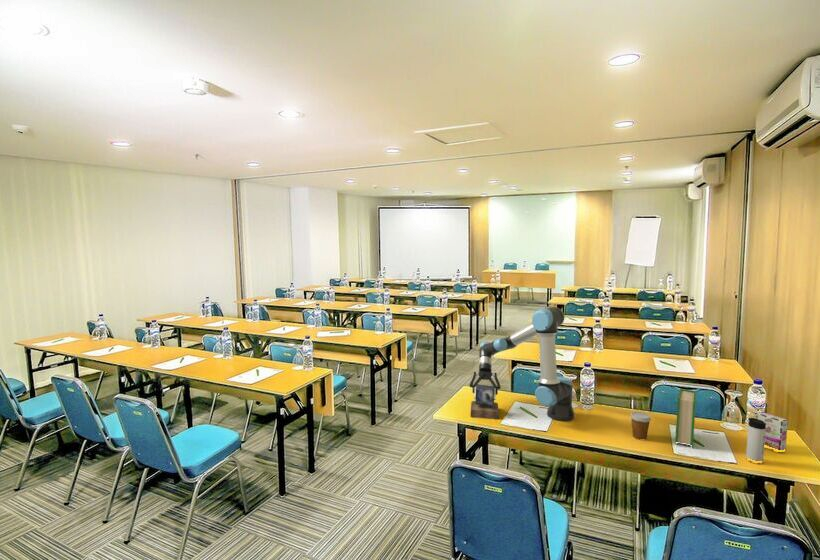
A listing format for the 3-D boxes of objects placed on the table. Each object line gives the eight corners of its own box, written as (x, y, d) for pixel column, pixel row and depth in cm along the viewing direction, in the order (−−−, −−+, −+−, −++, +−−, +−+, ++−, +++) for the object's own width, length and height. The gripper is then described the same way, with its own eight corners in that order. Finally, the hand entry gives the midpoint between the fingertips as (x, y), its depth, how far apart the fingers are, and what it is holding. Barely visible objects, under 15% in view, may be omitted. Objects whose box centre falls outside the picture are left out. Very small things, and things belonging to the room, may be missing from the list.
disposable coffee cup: (651, 442, 217) (652, 419, 216) (630, 439, 220) (631, 417, 219) (648, 434, 226) (649, 412, 225) (628, 432, 229) (629, 410, 228)
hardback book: (692, 448, 211) (695, 401, 209) (675, 444, 215) (677, 398, 213) (693, 435, 226) (696, 391, 224) (677, 432, 230) (679, 388, 228)
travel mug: (742, 456, 203) (745, 416, 201) (759, 458, 201) (762, 417, 200) (748, 463, 197) (751, 421, 195) (765, 465, 195) (769, 423, 194)
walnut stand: (497, 408, 261) (497, 402, 260) (498, 419, 245) (498, 412, 245) (471, 406, 263) (471, 400, 263) (470, 417, 248) (470, 410, 247)
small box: (475, 404, 252) (475, 387, 251) (476, 400, 258) (476, 384, 258) (493, 406, 249) (493, 389, 248) (494, 402, 255) (494, 385, 255)
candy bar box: (786, 452, 208) (788, 419, 207) (779, 454, 206) (782, 421, 205) (760, 442, 218) (762, 411, 217) (754, 443, 217) (756, 412, 215)
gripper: (504, 369, 266) (504, 402, 252) (466, 367, 269) (465, 400, 255) (504, 363, 260) (505, 397, 246) (466, 361, 264) (464, 394, 250)
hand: (484, 398), depth 251 cm, fingers closed on small box, 11 cm apart
